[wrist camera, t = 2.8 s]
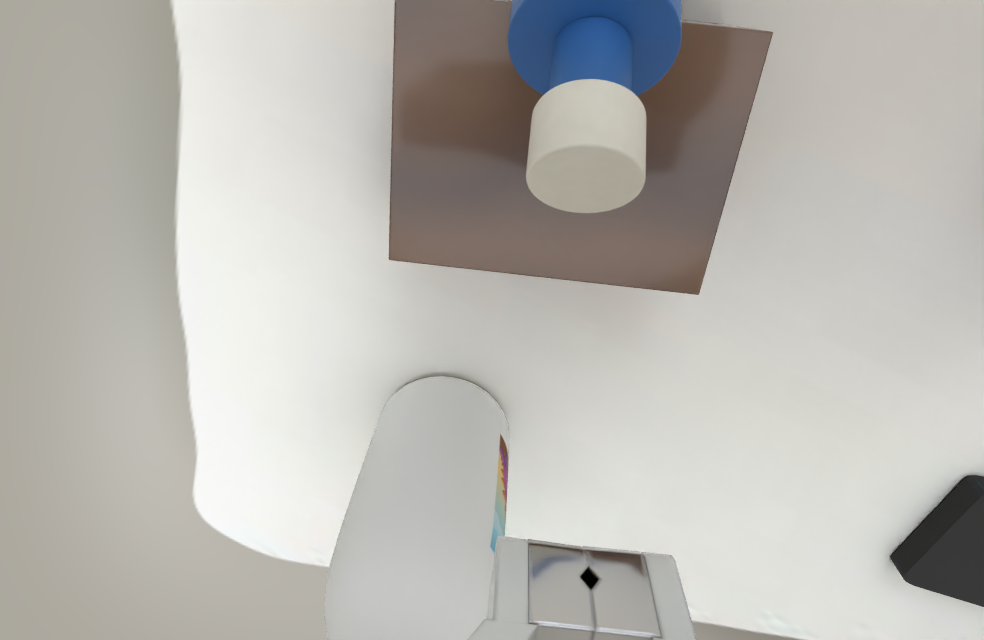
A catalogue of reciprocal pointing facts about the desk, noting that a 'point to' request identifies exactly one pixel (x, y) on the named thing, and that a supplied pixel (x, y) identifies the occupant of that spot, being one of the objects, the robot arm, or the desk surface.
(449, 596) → the milk bottle
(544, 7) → the bottle
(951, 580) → the smart home device
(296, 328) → the desk surface
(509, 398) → the desk surface
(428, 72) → the wooden box
